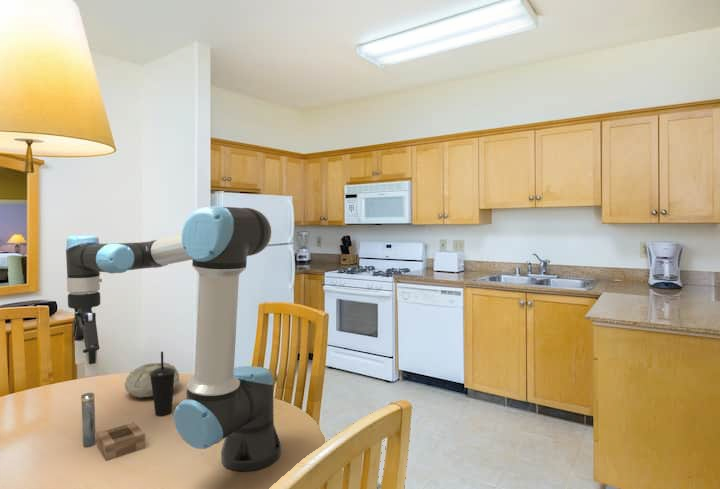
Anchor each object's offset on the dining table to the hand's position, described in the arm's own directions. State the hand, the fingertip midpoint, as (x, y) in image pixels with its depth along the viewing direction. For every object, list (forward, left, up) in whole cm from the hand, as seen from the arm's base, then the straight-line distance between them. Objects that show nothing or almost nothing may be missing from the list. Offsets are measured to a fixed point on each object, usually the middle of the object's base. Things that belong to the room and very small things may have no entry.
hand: (86, 369), depth 120 cm
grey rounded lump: (+27, -25, -21) cm, 42 cm away
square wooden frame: (-8, -6, -21) cm, 23 cm away
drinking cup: (+7, -22, -21) cm, 31 cm away
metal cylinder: (0, 0, -21) cm, 21 cm away
